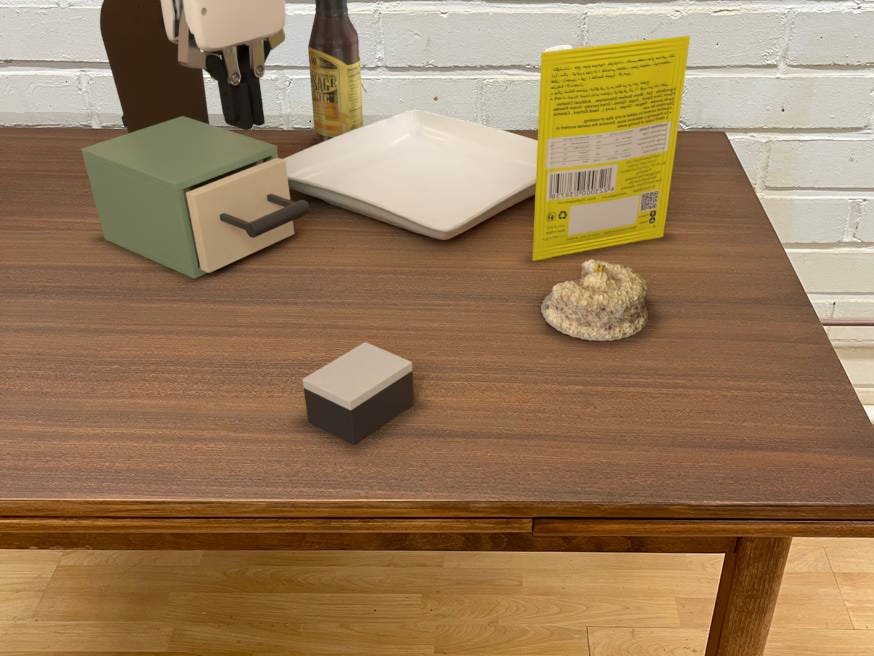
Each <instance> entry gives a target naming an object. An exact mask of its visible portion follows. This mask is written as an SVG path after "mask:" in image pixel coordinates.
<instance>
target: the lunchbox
mask: <svg viewBox="0 0 874 656" xmlns="http://www.w3.org/2000/svg"><path fill="white" fill-rule="evenodd" d="M413 377H414V375H413V361H411V360H408V359H406V358H403V357H401V356H399V355H396V354H394V353H392V352H389V351H388V350H385V349H382V348H381V347H378V346H375V345H373V344H372V343H369V342H367V341H365V342H363V343H361V344H359V345H357V346H356V347H354V348H352V349H350V350H349V351H347V352H346V353H344V354H342V355H340V356H339V357H337V358H336V359H333V360H332V361H331V362H329V363H327V364H325V365H324V366H322V367H319V368H318V369H317V370H315V371H314V372H312V373H310V374H309V375H307V376H305V377H304V378H302V380H301V381H302V387H303V394H304V402H305V409H306V417H307V422H308V423H310V424H312V425H314V426H316V427H317V428H320V429H322V430H323V431H325V432H327V433H329V434H331V435H334V436H335V437H337V438H339V439H341V440H343V441H345V442H347V443H349V444H351V445H353V446H355V445H356V444H358V443H360V442H361V441H363V440H364V439H365V438H367V437H368V436H369V435H371V434H373V433H374V432H375V431H377V430H379V429H380V428H382V427H383V426H384V425H386V424H387V423H389V422H390V421H392V420H393V419H395V418H396V417H398V416H399V415H400V414H402V413H404V412H406V410H408V409H409V408H412V406H414V404H415V398H414V379H413Z"/></svg>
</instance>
